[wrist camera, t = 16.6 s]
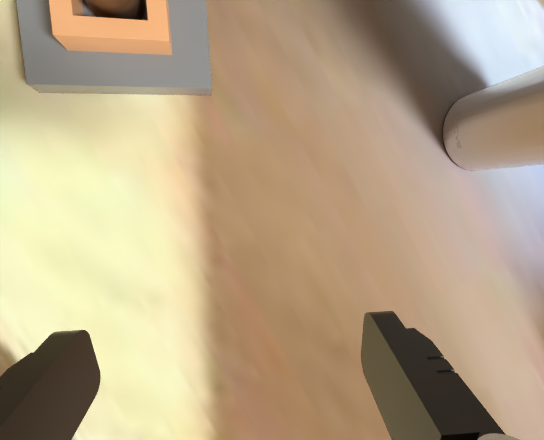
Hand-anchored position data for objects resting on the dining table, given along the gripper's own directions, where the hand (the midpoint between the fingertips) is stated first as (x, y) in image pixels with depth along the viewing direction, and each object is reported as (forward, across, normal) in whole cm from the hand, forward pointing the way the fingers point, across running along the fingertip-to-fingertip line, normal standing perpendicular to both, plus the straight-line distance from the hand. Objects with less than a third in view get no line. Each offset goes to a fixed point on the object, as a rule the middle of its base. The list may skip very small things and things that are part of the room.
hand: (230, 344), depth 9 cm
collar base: (+26, +10, -15) cm, 32 cm away
